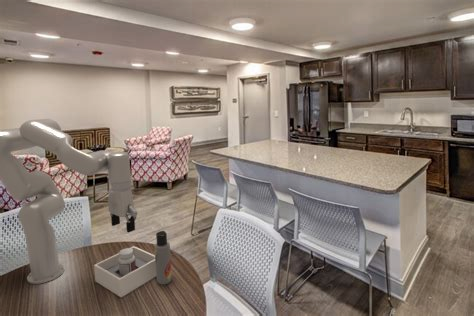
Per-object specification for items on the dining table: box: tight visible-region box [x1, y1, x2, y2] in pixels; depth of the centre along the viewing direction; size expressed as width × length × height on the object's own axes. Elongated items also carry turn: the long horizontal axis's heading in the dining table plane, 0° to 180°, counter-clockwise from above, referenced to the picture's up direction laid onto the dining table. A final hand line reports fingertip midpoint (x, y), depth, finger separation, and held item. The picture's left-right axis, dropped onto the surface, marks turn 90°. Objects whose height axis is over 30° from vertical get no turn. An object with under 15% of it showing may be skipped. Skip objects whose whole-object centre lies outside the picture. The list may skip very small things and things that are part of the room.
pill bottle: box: [118, 247, 136, 277], centre depth 113 cm, size 6×6×11 cm
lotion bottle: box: [153, 230, 173, 285], centre depth 110 cm, size 6×6×20 cm
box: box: [93, 245, 157, 298], centre depth 114 cm, size 17×18×7 cm
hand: (123, 227), depth 111 cm, fingers open, 9 cm apart
